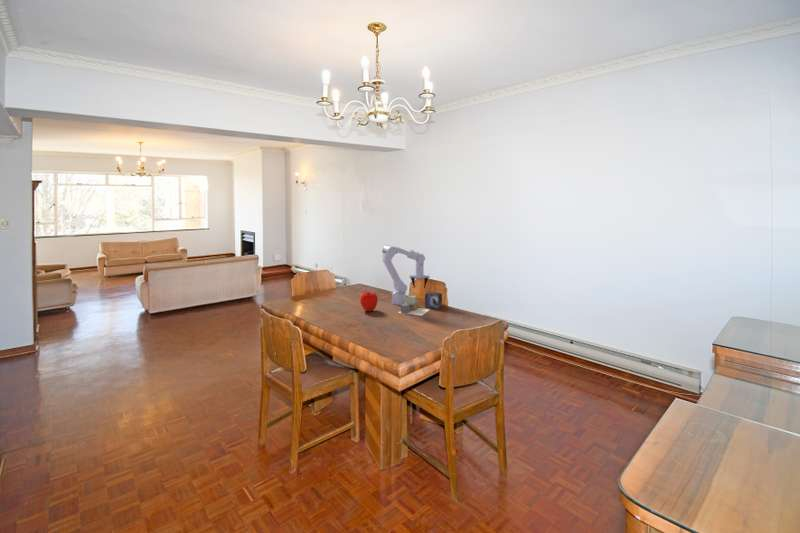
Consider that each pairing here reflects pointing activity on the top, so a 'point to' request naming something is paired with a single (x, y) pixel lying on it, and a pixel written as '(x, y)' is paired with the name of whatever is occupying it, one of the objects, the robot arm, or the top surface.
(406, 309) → the charcoal block
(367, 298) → the apple
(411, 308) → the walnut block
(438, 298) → the picture frame
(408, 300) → the sage block
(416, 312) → the grey mat
